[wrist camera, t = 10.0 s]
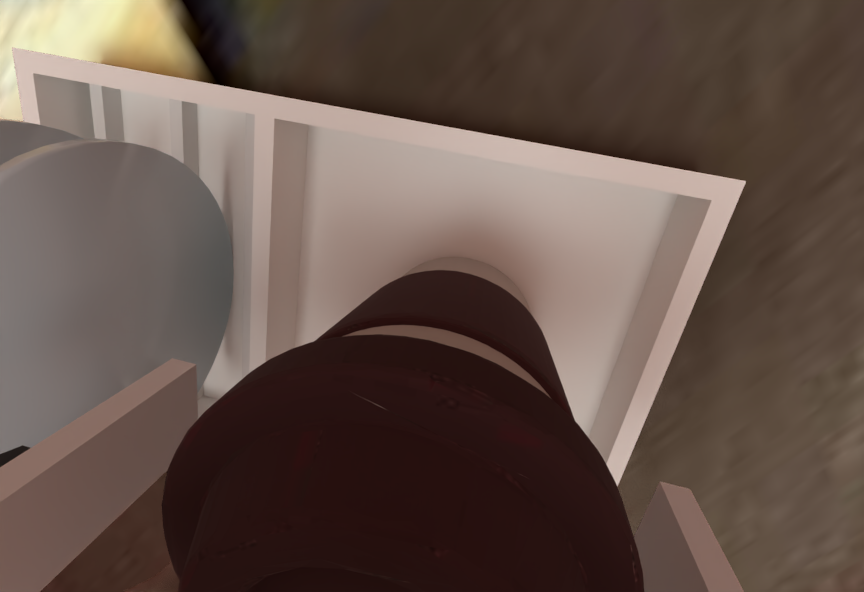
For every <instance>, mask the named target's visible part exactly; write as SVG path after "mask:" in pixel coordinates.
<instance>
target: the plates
mask: <svg viewBox="0 0 864 592" xmlns="http://www.w3.org/2000/svg"><path fill="white" fill-rule="evenodd" d="M233 278H234V270H233V254H232V246H231V241H230V236H229V232H228V228H227V225H226V222H225V219H224V216H223V214H222V212H221V209H220V207H219V205H218V203H217V201H216V199H215V198H214V196H213V195H212V193H211V192H210V190H209V188H208V187H207V186H206V185H205V184H204V182H203V181H202V180H201V179H200V178H199V176H198V175H196V174H195V173H194V172H193V171H192V170H191V169H190V168H189V167H187V166H186V165H185V164H183V163H182V162H180V161H179V160H177V159H175V158H174V157H172V156H170V155H168V154H166V153H163V152H161V151H159V150H157V149H154V148H150V147H146V146H142V145H138V144H133V143H128V142H123V141H118V140H108V139H97V138H95V139H84V138H81V137H79V136H76V135H73V134H71V133H68V132H66V131H63V130H59V129H55V128H51V127H47V126H43V125H39V124H34V123H29V122H24V121H17V120H8V119H0V454H2V453H4V452H7V451H9V450H12V449H15V448H17V447H20V446H22V445H23V446H27V447H30V448H32V447H33V446H35V445H36V444H38V443H39V442H41V441H43V440H44V439H46V438H47V437H49V436H50V435H52V434H54V433H55V432H57V431H58V430H60V429H61V428H63V427H65V426H66V425H68V424H69V423H71V422H73V421H74V420H76V419H77V418H79V417H80V416H82V415H84V414H85V413H87V412H88V411H90V410H91V409H93V408H95V407H96V406H98V405H99V404H101V403H102V402H104V401H106V400H107V399H109V398H110V397H112V396H114V395H115V394H117V393H118V392H120V391H121V390H123V389H125V388H126V387H128V386H129V385H131V384H132V383H134V382H136V381H137V380H139V379H140V378H142V377H143V376H145V375H147V374H148V373H150V372H151V371H153V370H154V369H156V368H158V367H159V366H161V365H162V364H164V363H166V362H167V361H169V360H170V359H172V358H173V359H177V360H181V361H185V362H189V363H193V364H196V368H197V394H198V392H199V390H200V389H201V387H202V385H203V383H204V381H205V379H206V378H207V376H208V374H209V372H210V370H211V368H212V365H213V363H214V361H215V358H216V356H217V354H218V351H219V348H220V345H221V342H222V340H223V337H224V333H225V330H226V326H227V322H228V318H229V313H230V308H231V301H232V293H233Z"/></svg>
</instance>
